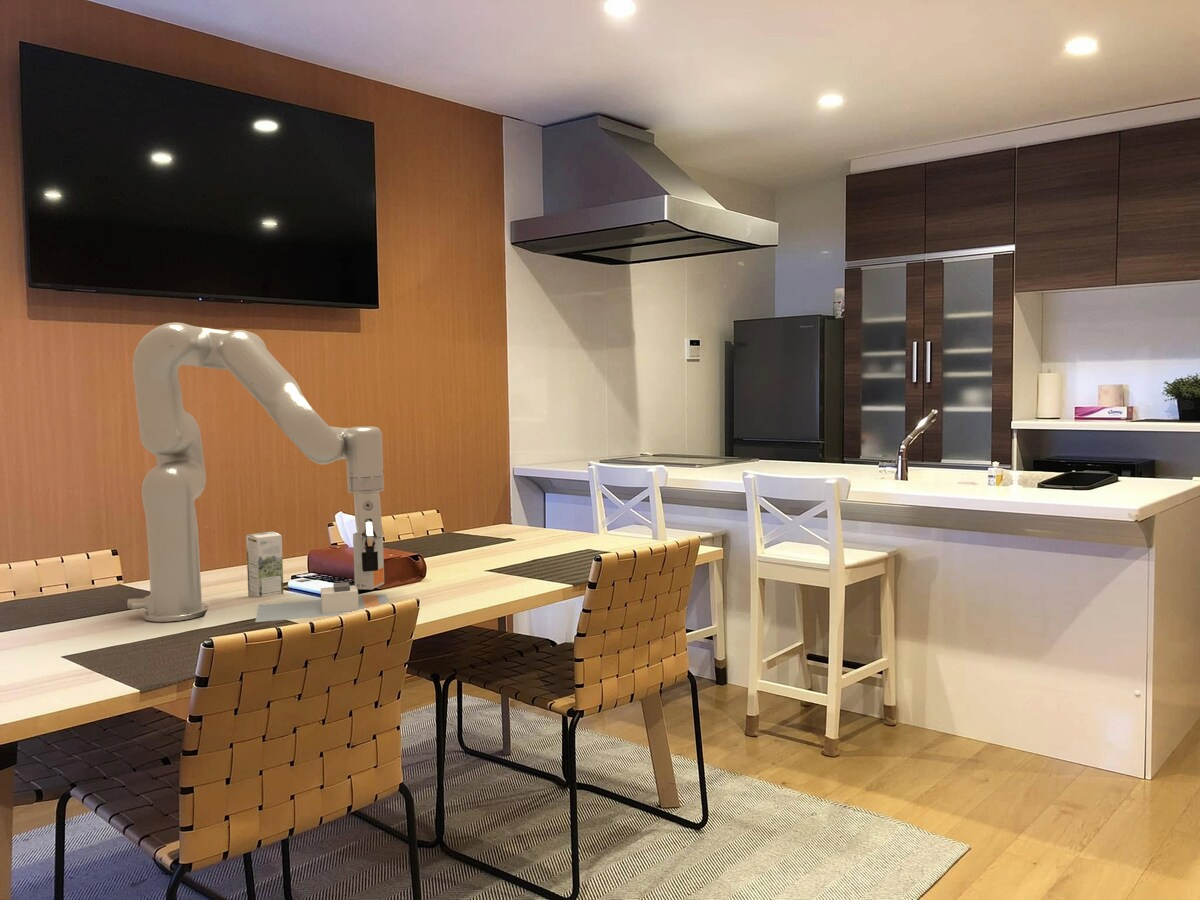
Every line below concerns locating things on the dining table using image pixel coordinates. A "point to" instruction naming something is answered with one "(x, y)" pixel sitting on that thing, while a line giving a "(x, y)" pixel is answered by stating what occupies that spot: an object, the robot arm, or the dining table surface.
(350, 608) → the beige box
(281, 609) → the board
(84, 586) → the dining table surface
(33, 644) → the dining table surface
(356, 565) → the skincare box
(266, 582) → the syrup box
